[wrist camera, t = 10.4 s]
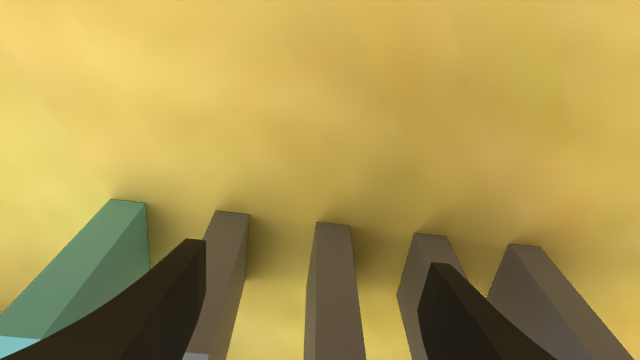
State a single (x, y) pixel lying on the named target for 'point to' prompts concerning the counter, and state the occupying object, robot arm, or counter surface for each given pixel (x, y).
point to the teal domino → (80, 276)
